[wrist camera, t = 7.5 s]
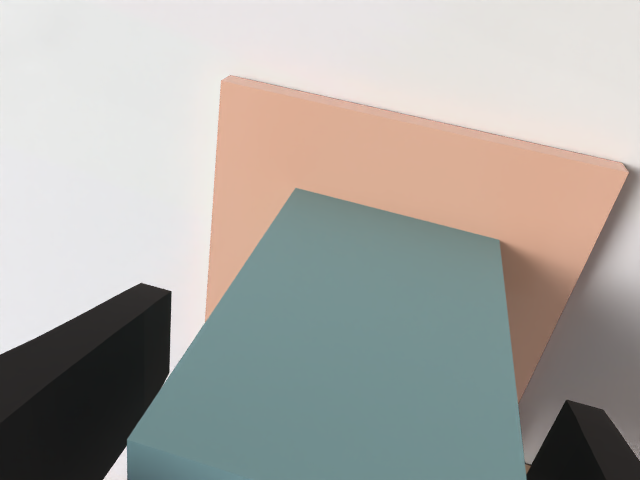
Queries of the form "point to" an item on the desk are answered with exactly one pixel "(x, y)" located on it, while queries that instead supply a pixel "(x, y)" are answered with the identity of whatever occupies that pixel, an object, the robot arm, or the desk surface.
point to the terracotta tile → (411, 192)
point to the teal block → (345, 359)
